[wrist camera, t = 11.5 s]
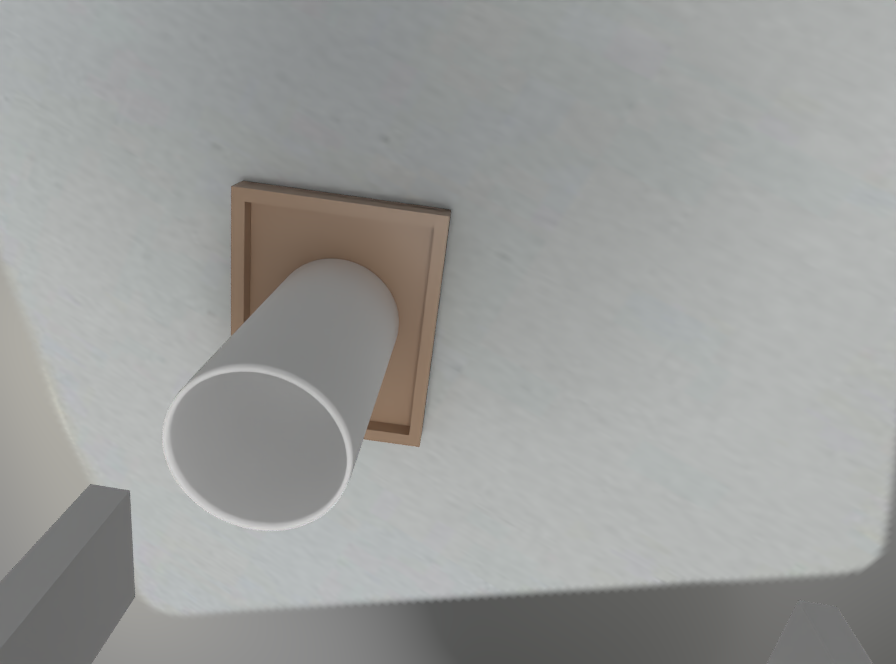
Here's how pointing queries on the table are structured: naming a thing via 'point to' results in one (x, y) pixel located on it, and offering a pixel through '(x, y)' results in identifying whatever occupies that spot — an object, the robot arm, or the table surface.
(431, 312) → the tray
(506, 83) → the table surface
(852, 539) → the table surface
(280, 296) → the cup
